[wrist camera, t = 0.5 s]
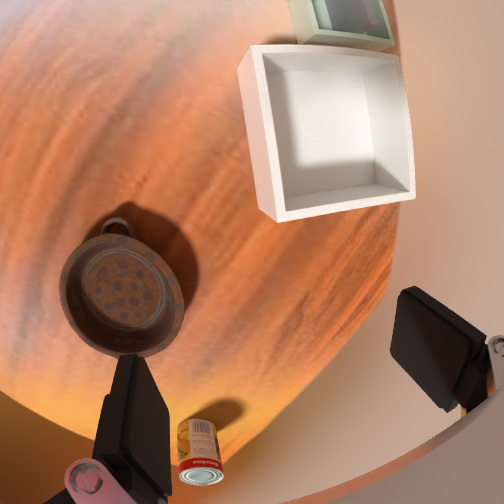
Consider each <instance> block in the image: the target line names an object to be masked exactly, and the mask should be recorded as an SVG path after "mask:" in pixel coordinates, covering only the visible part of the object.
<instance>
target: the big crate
mask: <svg viewBox="0 0 504 504" xmlns="http://www.w3.org/2000/svg"><path fill="white" fill-rule="evenodd" d="M237 73H238V79H239V85H240V91H241V97H242V104H243V110H244V116H245V123H246V129H247V136H248V142H249V149H250V155H251V162H252V168H253V175H254V182H255V188H256V195H257V202H258V208H259V209H260V210H261V211H263V212H264V213H265V214H267V215H268V216H269V217H271V218H272V219H273V220H275V221H276V222H277V223H280V222H285V221H290V220H295V219H301V218H306V217H312V216H317V215H323V214H328V213H334V212H339V211H345V210H351V209H356V208H362V207H368V206H374V205H380V204H386V203H392V202H398V201H404V200H410V199H415V198H416V194H415V169H414V154H413V143H412V132H411V124H410V116H409V109H408V102H407V96H406V90H405V85H404V80H403V74H402V70H401V65H400V60H399V56H398V55H393V54H387V53H382V52H375V51H369V50H362V49H354V48H345V47H334V46H320V45H290V44H279V45H251V46H250V47H249V49H248V51H247V53H246V54H245V56H244V58H243V60H242V62H241V63H240V65H239V67H238V69H237Z"/></svg>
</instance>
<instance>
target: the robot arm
mask: <svg viewBox="0 0 504 504" xmlns="http://www.w3.org/2000/svg"><path fill="white" fill-rule="evenodd" d="M486 337H487V336H486V335H485V334H484V333H482V332H481V331H480V330H478V329H477V328H475V327H474V326H473V325H471V324H470V323H469V322H467V321H466V320H464V319H463V318H462V317H460V316H459V315H457V314H456V313H455V312H453V311H452V310H450V309H448V308H447V307H446V306H445V305H443V304H442V303H440V302H439V301H437V300H436V299H434V298H433V297H431V296H430V295H429V294H427V293H426V292H424V291H422V290H421V289H420V288H418V287H416V286H412V287H409V288H406V289H404V290H402V291H401V293H400V295H399V296H398V300H397V308H396V315H395V322H394V329H393V335H392V341H391V347H390V353H391V355H392V357H393V358H394V359H395V360H396V361H397V362H398V364H399V365H400V366H401V367H402V368H403V369H404V370H405V371H406V372H407V373H408V374H409V375H410V376H411V377H412V379H413V380H414V381H415V382H416V383H417V384H418V385H419V386H420V387H421V388H422V390H423V391H424V392H426V394H427V395H428V396H429V397H430V398H431V399H432V401H434V403H435V404H436V405H437V406H438V407H439V408H443V409H444V410H445V411H446V412H447V413H448V412H450V411H451V410H452V409H454V408H455V407H457V405H458V403H459V404H460V405H461V419H460V420H458V421H457V422H455V423H454V424H453V425H451V426H450V427H448V428H447V429H446V430H444V431H442V432H441V433H439V434H438V435H436V436H435V437H433V438H432V439H430V440H428V441H427V442H425V443H423V444H422V445H420V446H419V447H417V448H415V449H414V450H411V451H410V452H408V453H406V454H404V455H402V456H401V457H399V458H397V459H395V460H393V461H391V462H389V463H387V464H385V465H383V466H381V467H379V468H377V469H375V470H373V471H370V472H368V473H366V474H364V475H362V476H359V477H357V478H355V479H352V480H350V481H347V482H345V483H342V484H340V485H337V486H335V487H332V488H329V489H326V490H323V491H320V492H317V493H314V494H311V495H309V496H305V497H302V498H299V499H295V500H291V501H288V502H284V503H280V504H504V336H502V335H498V336H494V337H492V338H491V339H490V340H489V342H488V344H487V345H486V344H485V340H486ZM65 485H66V488H65V489H64V490H63V491H61V492H60V493H58V494H57V495H55V496H54V497H53V498H51V499H49V500H48V501H47V502H45V503H44V504H168V499H167V496H171V495H172V483H171V461H170V416H169V411H168V408H167V406H166V404H165V402H164V400H163V398H162V396H161V394H160V392H159V390H158V388H157V385H156V383H155V381H154V379H153V377H152V375H151V372H150V370H149V368H148V366H147V363H146V361H145V359H144V357H139V356H138V354H137V353H132V354H124V355H120V356H119V359H118V363H117V367H116V371H115V375H114V379H113V383H112V387H111V391H110V394H107V395H106V396H105V398H104V401H103V406H102V410H101V414H100V419H99V423H98V428H97V433H96V438H95V444H94V449H93V455H92V459H89V458H86V459H81V460H78V461H76V462H74V463H73V464H72V465H71V466H70V467H69V468H68V470H67V471H66V475H65Z"/></svg>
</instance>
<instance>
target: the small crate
mask: <svg viewBox="0 0 504 504" xmlns="http://www.w3.org/2000/svg"><path fill="white" fill-rule="evenodd" d="M287 2H288V6H289V10H290V14H291V18H292V23H293V27H294V31H295V36H296V41H297V45H320V46H334V47H345V48H354V49H362V50H369V51H375V52H381V51H383V50H385V49H388V48H390V47H393V46H395V41H394V37H393V34H392V30H391V27H390V23H389V20H388V17H387V14H386V10H385V7H384V4H383V1H382V0H287Z"/></svg>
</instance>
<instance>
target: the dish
mask: <svg viewBox="0 0 504 504" xmlns="http://www.w3.org/2000/svg"><path fill="white" fill-rule="evenodd" d="M116 223H120V224H122V225H123V226H124V227H125V229H126V232H127V234H126V235H123V234H116V233H110V229H111V227H112V226H113V225H114V224H116ZM59 294H60V301H61V305H62V309H63V311H64V314H65V317H66V319H67V320H68V322H69V324H70V326H71V327H72V329H73V330H74V331H75V332H76V334H77V335H78V336H79V337H80V338H81V339H82V340H83V341H84V342H85V343H86V344H88V345H89V346H90V347H92V348H93V349H95V350H97V351H99V352H101V353H104V354H106V355H109V356H112V357H115V358H116V359H119V356H120V355H124V354H132V353H137V354H138V356H139V357H144V358H146V357H150V356H152V355H154V354H157V353H158V352H160V351H162V350H163V349H165V348H166V347H167V346H169V345H170V344H171V342H172V341H173V340H174V338H175V337H176V336H177V334H178V332H179V331H180V328H181V325H182V321H183V318H184V312H185V305H184V297H183V294H182V290H181V287H180V284H179V282H178V280H177V277H176V276H175V274H174V272H173V270H172V269H171V268H170V266H169V265H168V264H167V263H166V261H165V260H164V259H163V258H162V257H161V256H160V255H159V254H158V253H156V252H155V251H154V250H153V249H152V248H150V247H149V246H148V245H146V244H145V243H143V242H142V241H139V240H138V238H137V234H136V230H135V227H134V225H133V223H132V222H131V221H130V220H129V219H128V218H126V217H124V216H120V215H119V216H114V217H111V218H110V219H108V220H107V221H106V222H105V223H104V224H103V226H102V228H101V230H100V235H98V236H96V237H93V238H90V239H89V240H87V241H85V242H83V243H82V244H81V245H80V246H78V247H77V248H76V249H75V250H74V251H73V252H72V254H71V255H70V256H69V257H68V259H67V261H66V263H65V264H64V266H63V269H62V272H61V275H60V283H59Z"/></svg>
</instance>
